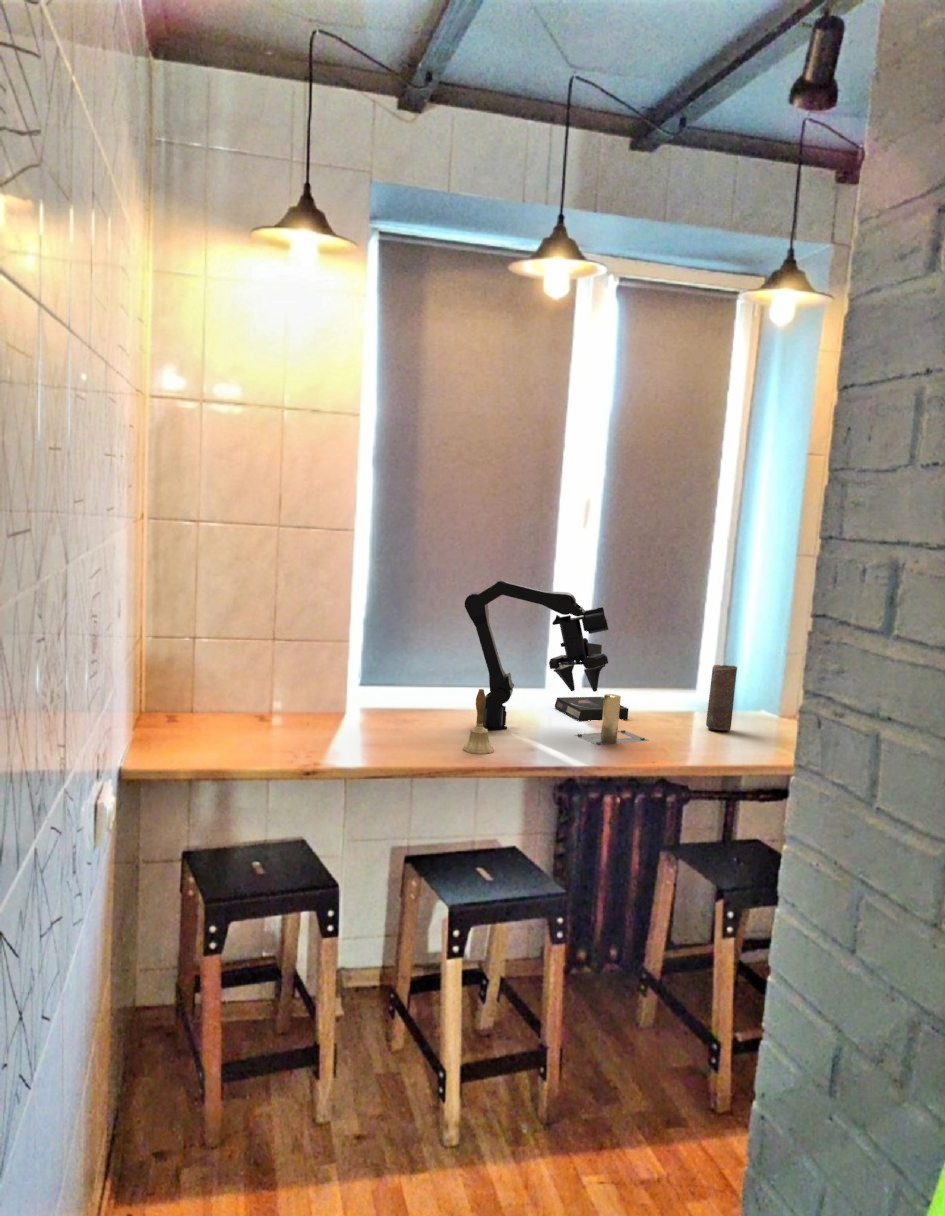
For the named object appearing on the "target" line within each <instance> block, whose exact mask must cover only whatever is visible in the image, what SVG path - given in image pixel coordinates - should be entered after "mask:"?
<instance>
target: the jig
mask: <svg viewBox="0 0 945 1216" xmlns="http://www.w3.org/2000/svg"><path fill="white" fill-rule="evenodd" d="M618 733H620V734H622V735H625V736H628V737H624V738H617V742H616V743H607V742H603V741H601V731H600V732H590V733H577V734H573V736H574V737H577V738H579V739H582V740H584V741H586V742H589V743H591V744H593V745H596V746H607V745H617V744H627V743H636V742H637V743H638V742H648V741H650V740H649V739H647V738H645V737H642V736H639V735H637V734H634V733H631V732H629V731H626V729H625V730H624V729H621V730H618Z"/></svg>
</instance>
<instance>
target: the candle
mask: <svg viewBox="0 0 945 1216" xmlns="http://www.w3.org/2000/svg"><path fill="white" fill-rule="evenodd" d="M737 671H738V666H736V665H729V664H728V665H726V664H724V665H721V664H713V666H712V670H711V676H710V677H711V678H710V688H709V697H708V705H707V713H706V723H705V725H706V727H707V728H708V729H709V730H714V731H716V730H717V731H720V732H721V731H731V729H732V719H733V712H734V711H733V710H734V700H735V692H736V691H735V690H736V681H737V680H736V679H737V674H738V673H737Z"/></svg>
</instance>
